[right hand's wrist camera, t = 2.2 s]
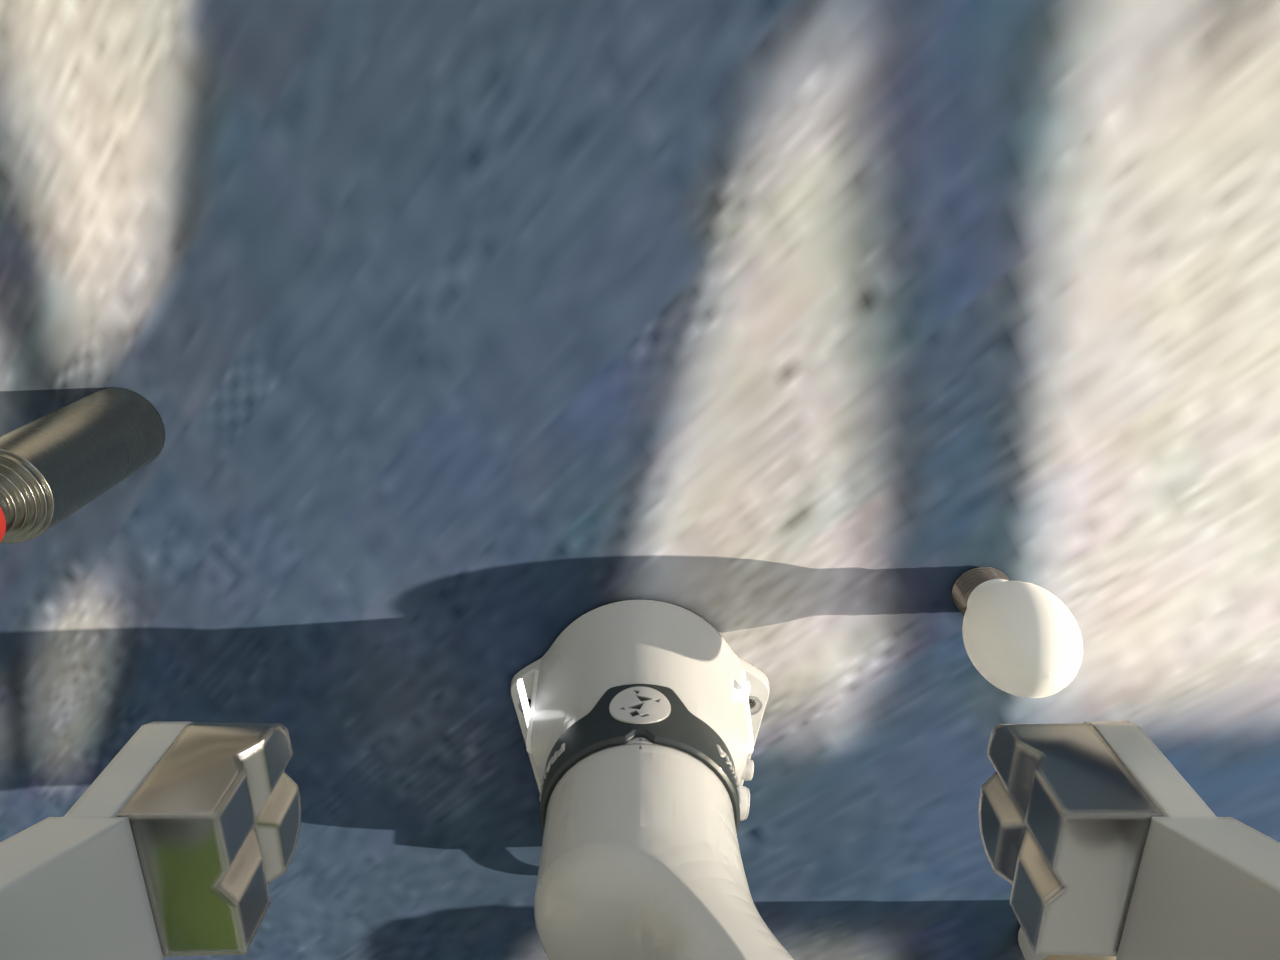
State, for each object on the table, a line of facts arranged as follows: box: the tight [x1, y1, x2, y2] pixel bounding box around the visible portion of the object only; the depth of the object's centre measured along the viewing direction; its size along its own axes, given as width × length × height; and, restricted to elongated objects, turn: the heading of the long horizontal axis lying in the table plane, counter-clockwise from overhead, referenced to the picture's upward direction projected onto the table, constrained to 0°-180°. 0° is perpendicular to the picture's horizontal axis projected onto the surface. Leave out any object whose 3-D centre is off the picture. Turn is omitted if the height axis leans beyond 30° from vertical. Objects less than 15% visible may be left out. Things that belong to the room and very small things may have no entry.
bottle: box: [0, 388, 165, 543], centre depth 52 cm, size 6×6×16 cm
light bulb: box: [952, 567, 1083, 698], centre depth 58 cm, size 7×7×11 cm
